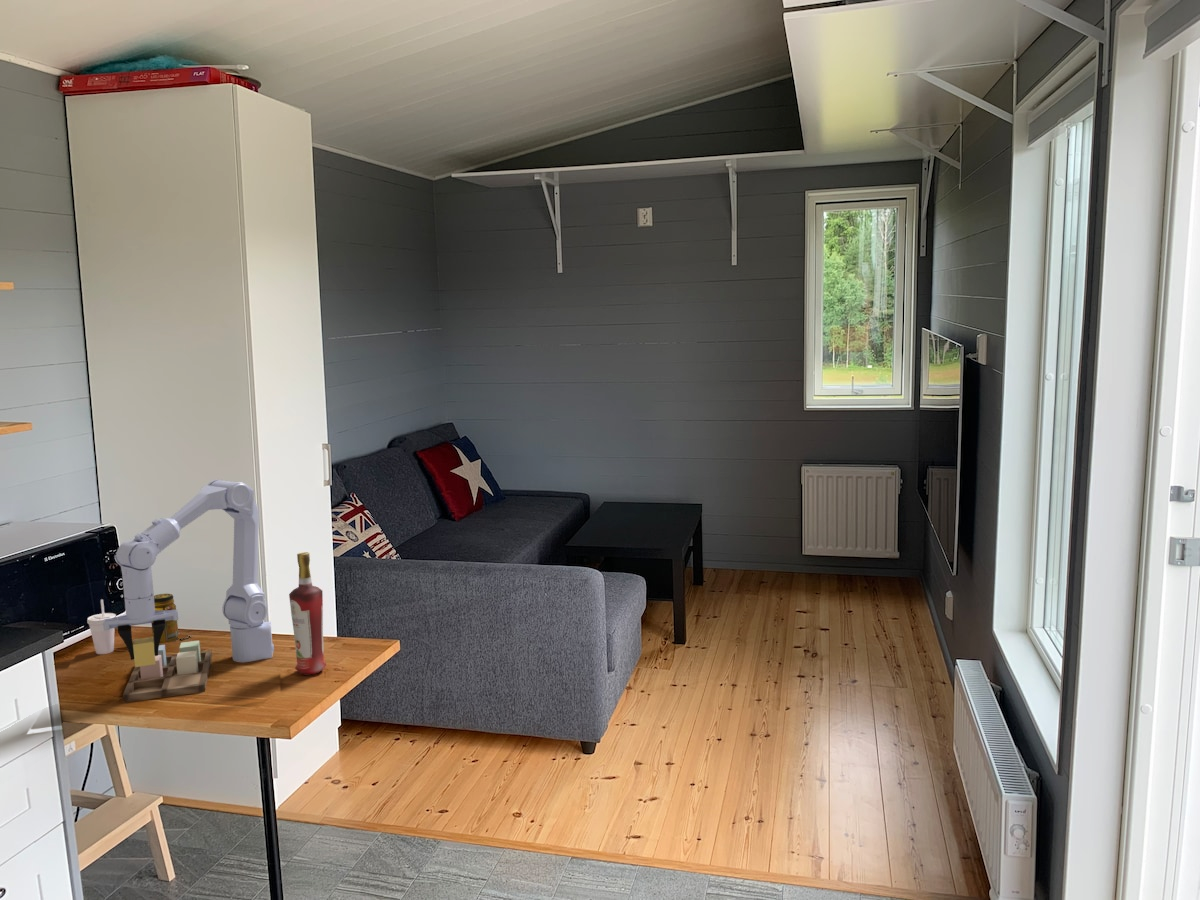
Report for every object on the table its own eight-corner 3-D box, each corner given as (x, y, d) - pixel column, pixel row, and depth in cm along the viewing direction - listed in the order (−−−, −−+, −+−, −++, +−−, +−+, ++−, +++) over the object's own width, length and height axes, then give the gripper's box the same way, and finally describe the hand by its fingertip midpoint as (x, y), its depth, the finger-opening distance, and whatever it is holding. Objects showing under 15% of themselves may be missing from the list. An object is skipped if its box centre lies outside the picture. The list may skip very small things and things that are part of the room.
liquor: (288, 673, 219) (279, 555, 216) (314, 663, 225) (306, 548, 222) (308, 679, 215) (299, 559, 211) (334, 669, 221) (326, 552, 217)
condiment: (145, 643, 243) (141, 597, 242) (173, 633, 251) (170, 589, 249) (164, 647, 240) (160, 601, 238) (192, 637, 247) (189, 592, 246)
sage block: (200, 660, 227) (199, 640, 226) (199, 666, 223) (197, 645, 223) (182, 662, 226) (181, 642, 225) (181, 668, 222) (179, 647, 221)
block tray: (212, 659, 230) (211, 650, 230) (205, 694, 208) (204, 684, 207) (138, 668, 225) (138, 659, 225) (123, 705, 203) (122, 695, 202)
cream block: (198, 671, 220) (196, 650, 219) (197, 677, 216) (195, 656, 216) (179, 673, 219) (177, 652, 218) (177, 679, 215) (176, 658, 214)
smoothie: (107, 659, 232) (102, 604, 230) (84, 658, 233) (78, 603, 231) (125, 650, 238) (120, 596, 236) (103, 649, 239) (97, 595, 237)
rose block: (163, 675, 218) (161, 654, 217) (161, 681, 214) (159, 660, 213) (143, 678, 216) (141, 657, 216) (141, 684, 213) (139, 662, 212)
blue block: (166, 664, 225) (164, 644, 224) (164, 670, 221) (163, 649, 220) (148, 667, 223) (146, 646, 223) (145, 673, 220) (144, 652, 219)
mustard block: (155, 658, 210) (153, 636, 210) (155, 664, 207) (153, 641, 206) (135, 661, 209) (133, 639, 208) (135, 667, 205) (133, 644, 204)
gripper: (175, 586, 212) (180, 645, 214) (102, 596, 206) (107, 656, 208) (176, 594, 206) (181, 654, 207) (100, 604, 199) (106, 666, 201)
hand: (144, 656), depth 207 cm, fingers closed on mustard block, 4 cm apart
